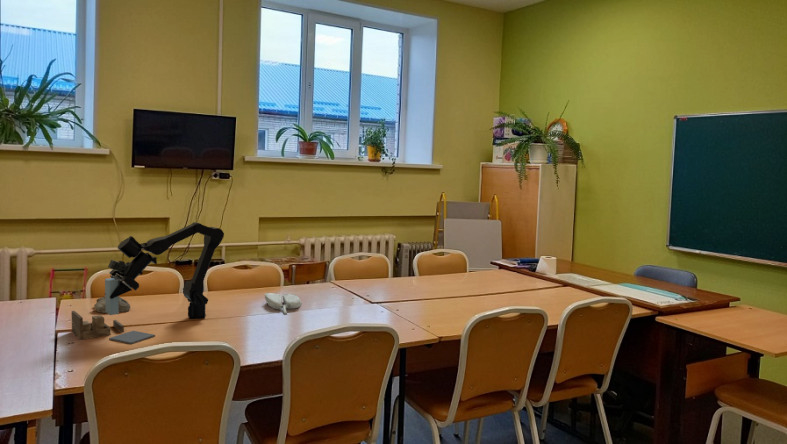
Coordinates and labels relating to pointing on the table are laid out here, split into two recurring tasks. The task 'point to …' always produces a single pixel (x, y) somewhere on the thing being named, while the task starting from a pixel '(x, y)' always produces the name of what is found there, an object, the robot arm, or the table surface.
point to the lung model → (276, 301)
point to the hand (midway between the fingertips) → (107, 296)
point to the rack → (78, 328)
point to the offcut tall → (98, 322)
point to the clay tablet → (122, 305)
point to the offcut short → (86, 326)
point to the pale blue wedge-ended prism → (110, 304)
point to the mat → (132, 337)
